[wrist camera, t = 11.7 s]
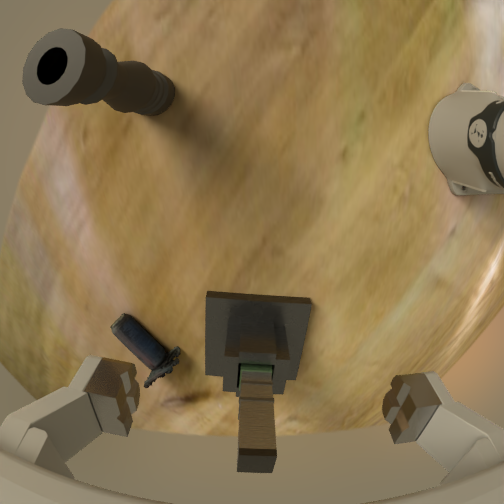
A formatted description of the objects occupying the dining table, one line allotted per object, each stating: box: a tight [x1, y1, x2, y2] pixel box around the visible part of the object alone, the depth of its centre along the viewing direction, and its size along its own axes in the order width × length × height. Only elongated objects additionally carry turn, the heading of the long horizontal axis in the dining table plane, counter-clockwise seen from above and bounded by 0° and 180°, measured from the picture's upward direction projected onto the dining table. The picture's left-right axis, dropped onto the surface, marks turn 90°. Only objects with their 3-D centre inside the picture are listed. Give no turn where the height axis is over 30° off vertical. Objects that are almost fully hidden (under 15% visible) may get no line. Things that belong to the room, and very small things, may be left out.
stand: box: [205, 291, 312, 397], centre depth 48 cm, size 16×16×10 cm
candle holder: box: [23, 29, 175, 116], centre depth 27 cm, size 6×6×25 cm
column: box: [237, 363, 277, 473], centre depth 37 cm, size 4×4×17 cm
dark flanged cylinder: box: [111, 313, 180, 388], centre depth 51 cm, size 9×8×12 cm
